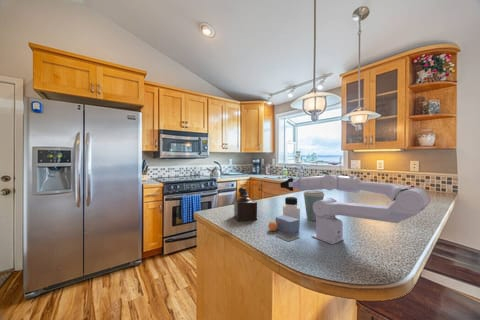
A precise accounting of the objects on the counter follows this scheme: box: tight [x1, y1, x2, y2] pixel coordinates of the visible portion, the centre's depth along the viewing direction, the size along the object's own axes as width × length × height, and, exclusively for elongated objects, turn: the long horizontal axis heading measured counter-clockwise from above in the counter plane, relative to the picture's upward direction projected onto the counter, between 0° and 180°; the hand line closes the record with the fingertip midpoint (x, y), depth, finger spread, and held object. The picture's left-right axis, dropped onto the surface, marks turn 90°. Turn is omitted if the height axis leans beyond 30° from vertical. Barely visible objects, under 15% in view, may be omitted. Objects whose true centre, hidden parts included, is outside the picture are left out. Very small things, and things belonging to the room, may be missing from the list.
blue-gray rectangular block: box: [275, 214, 300, 235], centre depth 91 cm, size 9×6×5 cm
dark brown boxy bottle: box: [233, 186, 258, 222], centre depth 106 cm, size 16×11×18 cm
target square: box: [275, 232, 301, 243], centre depth 83 cm, size 7×7×1 cm
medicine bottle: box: [282, 196, 301, 223], centre depth 104 cm, size 7×7×12 cm
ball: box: [267, 221, 278, 232], centre depth 90 cm, size 4×4×4 cm
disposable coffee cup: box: [303, 190, 325, 221], centre depth 107 cm, size 11×11×15 cm
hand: (286, 184), depth 97 cm, fingers open, 7 cm apart
